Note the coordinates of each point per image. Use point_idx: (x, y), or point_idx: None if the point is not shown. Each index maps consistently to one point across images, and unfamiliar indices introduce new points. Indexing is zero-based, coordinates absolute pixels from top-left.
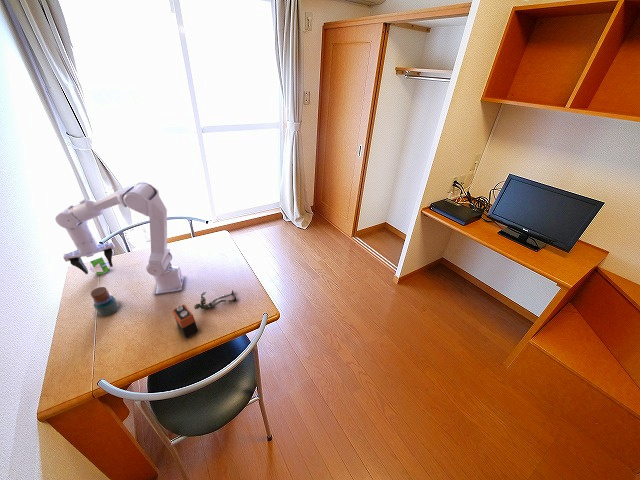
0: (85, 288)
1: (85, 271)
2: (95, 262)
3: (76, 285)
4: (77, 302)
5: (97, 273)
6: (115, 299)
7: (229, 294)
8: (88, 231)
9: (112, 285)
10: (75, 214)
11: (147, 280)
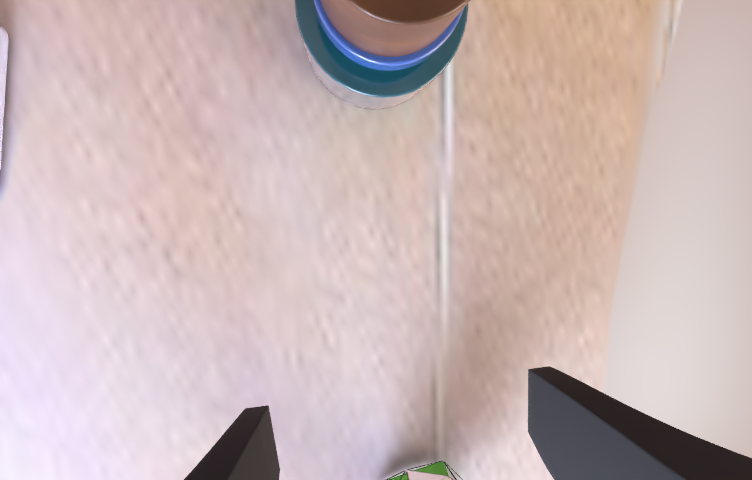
0: (512, 356)
1: (571, 387)
2: None
3: None
4: (555, 230)
5: (447, 475)
6: (296, 10)
7: None
8: None
9: (357, 316)
10: None
11: (109, 266)
